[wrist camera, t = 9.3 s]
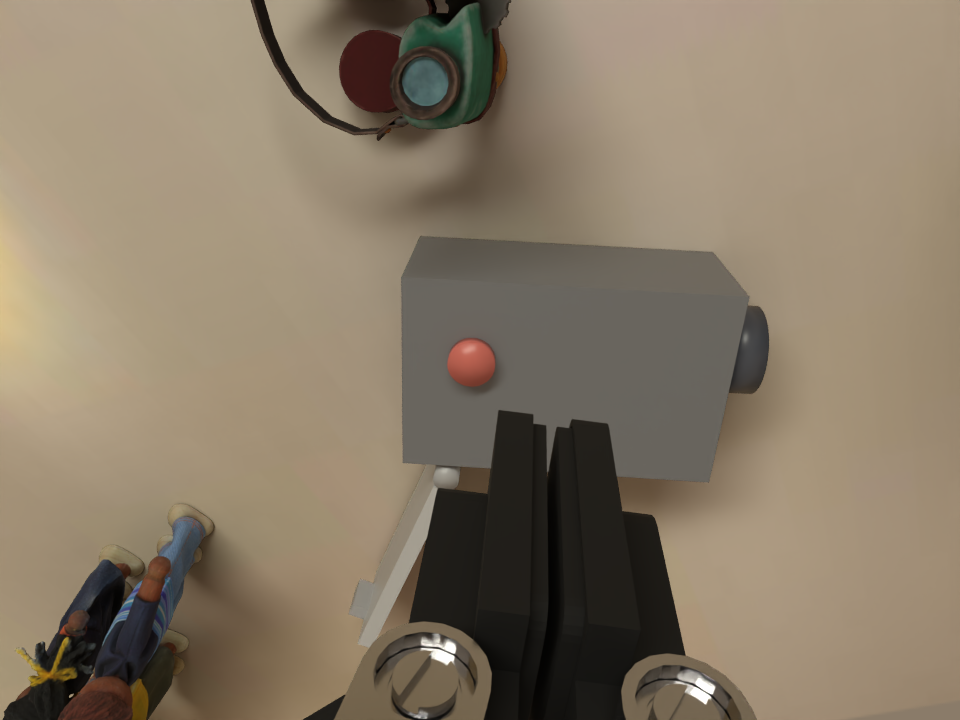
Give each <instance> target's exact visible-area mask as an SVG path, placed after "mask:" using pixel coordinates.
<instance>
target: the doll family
mask: <svg viewBox="0 0 960 720" xmlns="http://www.w3.org/2000/svg"><path fill="white" fill-rule="evenodd" d="M168 522H169V525H170V526H171V527H172V530H173V536H172V535H167V536H163V537H162V538H160V540H159V541H158V544H157V552H158V556H157V557H155V558H154V559H153V560H152V561H151V562H150V564H149V566H148V574H147V575H146V576H145V577H144V579H143V580H142V581H141V582H139V583H138V584H137V585H136V587H135V588H134V590H133V591H132V589H131V587H130V585H129V584H128V583H126V582H125V579H126V578H127V576H130V577H133V576H137V575H139V574H140V573H142V571H143V569H144V564H143V562H142V561H141V560H140V559H138V558H137V557H136V556H134V555H133V554H131V553H130V552H128V551H127V550H125V549H123V548H121V547H119V546H116V545H108V546H106V547H104V548H103V549H102V551H101V553H100V556H99V562H100V564H99V565H98V567H97V568H96V569H95V570H94V571H93V572H92V573H91V574H90V576H89V577H88V578H87V580H86V581H85V583H84V585H83V586H82V588H81V590H80V591H79V593H78V594H77V596H76V597H75V599H74V600H73V602H72V604H71V605H70V607H69V609H68V610H67V612H66V613H65V615H64V616H63V618H62V620H61V622H60V626H59V631H58V633H57V634H56V635H55V637H54V638H53V640H52V642H51V643H50V646H49V648H48V650H47V651H46V650H45V642H40V643H38V644H36V648H35V658H36V660H35V659H32V658H31V657H30V656H29V655H28V654H27V653H26V650H25V649H24V648H16V649H15V651H16V652H17V653H19V654H21V656H22V658H23V659H25V660H26V661H27V662H28V663H29V664H30V665H31V668H32V669H33V670H35V671H37V674H38V676H29V678H28V680H29V681H30V682H31V684H30V686H29V687H28V688H27V689H25V690H24V691H23V692H22V693H21V694H20V695H19V696H18V698H17V699H16V701H14V702H11V703H10V704H9V706H8V707H7V709H6V710H5V711H4V715H5V716H4V718H3V720H148V719H149V717H150V716H151V714H152V712H153V711H154V710H155V708H156V707H157V705H158V704H159V702H160V701H161V699H162V698H163V697H164V695H165V694H166V692H167V691H168V689H169V687H170V686H171V684H172V679H173V675H175V674H178V673H180V672H181V671H182V670H183V669H184V662H183V660H182V659H181V658H179V657H177V656H174V654H175V653H179V652H182V651H184V650H185V649H186V648H187V647H188V644H189V641H188V639H187V638H186V637H185V636H183V635H181V634H179V633H177V632H174V631H172V630H169V629H168V626H169V624H170V621H171V619H172V617H173V613H174V611H175V608H176V606H177V604H178V602H179V600H180V598H181V596H182V593H183V586H184V577H185V575H186V573H187V572H188V570H189V569H190V568H191V566H192V565H193V564H195V563H196V562H198V561H199V560H200V559H201V558H202V550H201V549H200V548H199V547H198V546H199V544H200V543H201V541H202V540H203V538H204V537H206V536H208V535H209V534H210V533H211V532H212V531H213V528H214V526H213V523H212V521H211V520H210V519H209V518H207V517H206V516H205V515H203V514H202V513H200V512H198V511H197V510H195V509H194V508H192V507H190V506H188V505H186V504H177V505H174V506H173V507H172V508H171V509H170V511H169V513H168ZM126 598H127V600H126V601H125V603H124V604H123V606H122V601H123V599H126ZM92 674H94V675H93V676H92V677H91V675H92ZM90 677H91V678H90ZM78 692H79V693H78ZM70 694H74V695H73V696H72V697H71V698H69V695H70Z"/></svg>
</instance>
